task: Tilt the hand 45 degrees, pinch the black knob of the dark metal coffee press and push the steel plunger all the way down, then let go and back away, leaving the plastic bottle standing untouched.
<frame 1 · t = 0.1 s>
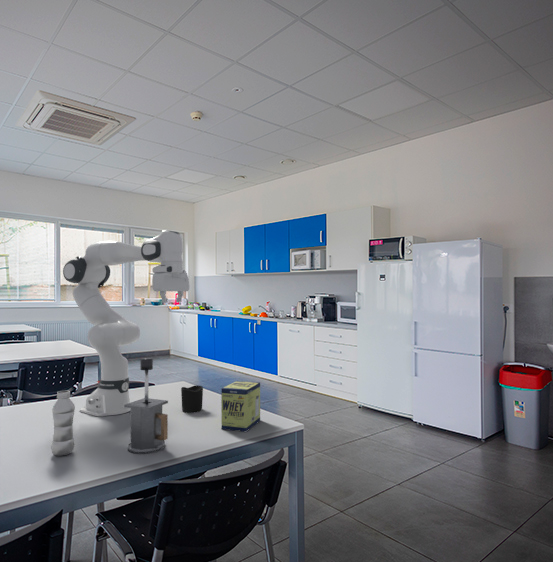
hand: (172, 302, 178), 48 cm above the table, tool pointing down, fingers open, 8 cm apart
press carafe: (146, 447, 144), on the table
pen holder: (192, 410, 189), on the table
plunger: (146, 386, 145), point 20 cm above the table, slide at 0.0 cm
plastic bottle: (63, 455, 138), on the table
protein box: (241, 425, 168), on the table
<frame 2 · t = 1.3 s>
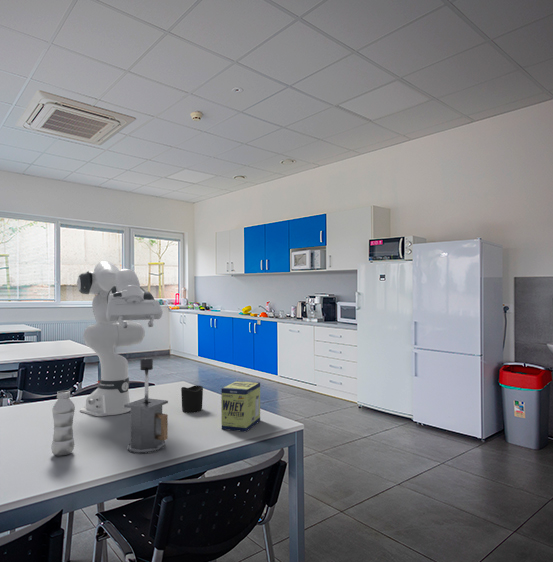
hand: (138, 326, 158), 39 cm above the table, tool tilted 45°, fingers open, 8 cm apart
nothing on the table moved.
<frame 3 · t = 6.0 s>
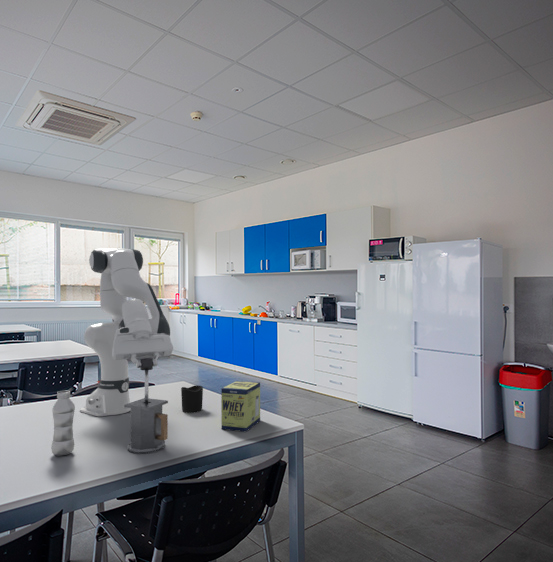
hand: (147, 366, 144), 27 cm above the table, tool tilted 45°, fingers closed on plunger, 4 cm apart
plunger: (146, 386, 145), point 20 cm above the table, slide at 0.0 cm, touching gripper
everything else where it was.
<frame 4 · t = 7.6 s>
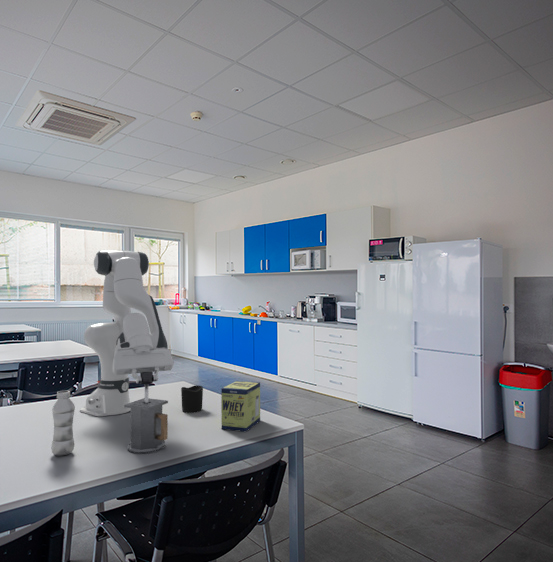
hand: (147, 381, 144), 22 cm above the table, tool tilted 45°, fingers closed on plunger, 4 cm apart
plunger: (146, 400, 145), point 16 cm above the table, slide at 4.6 cm, touching gripper
everything else where it was.
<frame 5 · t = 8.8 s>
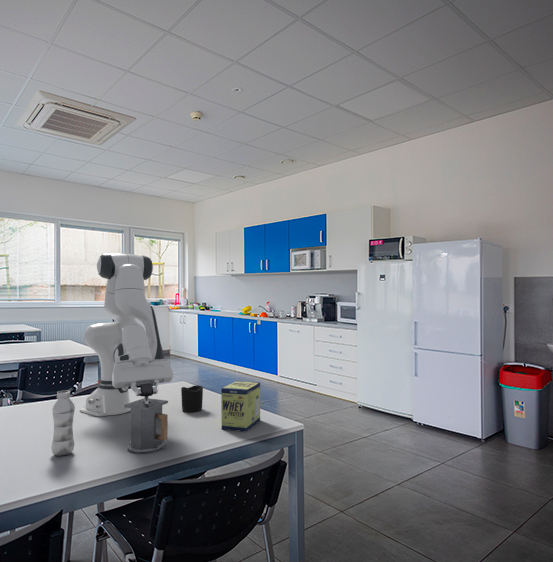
hand: (147, 394, 144), 18 cm above the table, tool tilted 45°, fingers closed on plunger, 4 cm apart
plunger: (146, 412, 144), point 12 cm above the table, slide at 8.7 cm, touching gripper
everything else where it was.
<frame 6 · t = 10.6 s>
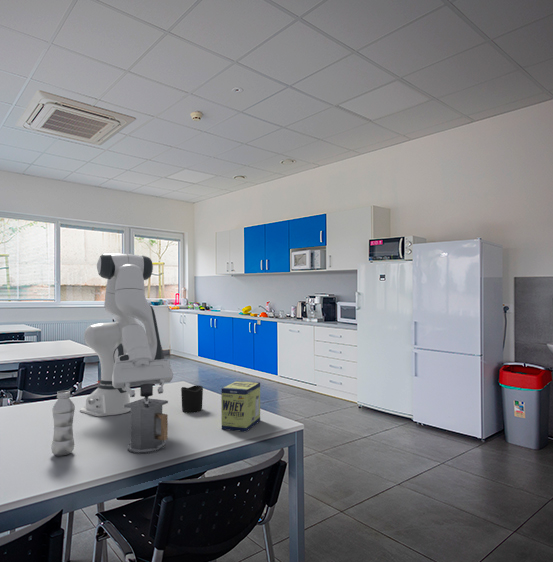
hand: (147, 394, 144), 18 cm above the table, tool tilted 45°, fingers open, 8 cm apart
plunger: (146, 412, 144), point 12 cm above the table, slide at 8.7 cm
everything else where it was.
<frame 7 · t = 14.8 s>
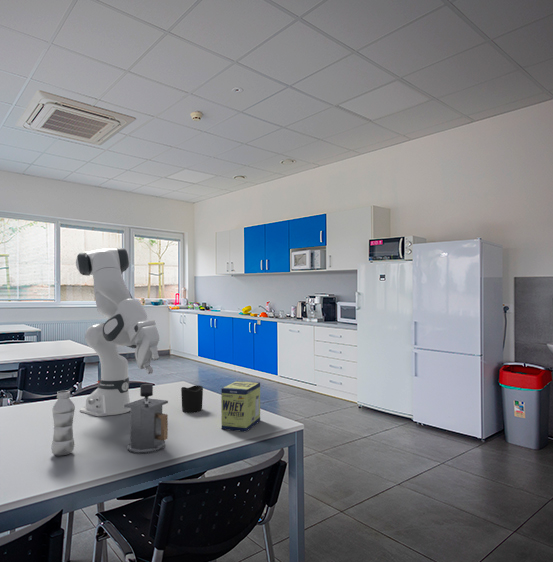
hand: (153, 366, 154), 26 cm above the table, tool tilted 40°, fingers open, 8 cm apart
nothing on the table moved.
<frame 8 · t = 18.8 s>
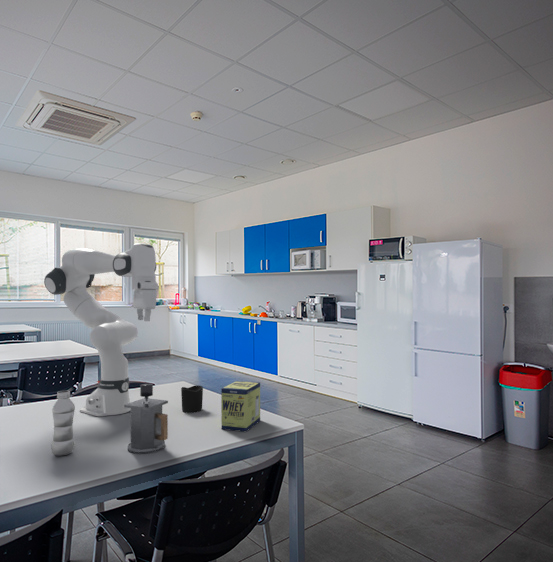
hand: (143, 320, 166), 41 cm above the table, tool pointing down, fingers open, 8 cm apart
nothing on the table moved.
at the end: plunger slide at 8.7 cm; the gripper is holding nothing; plastic bottle moved 0.2 cm from its start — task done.
